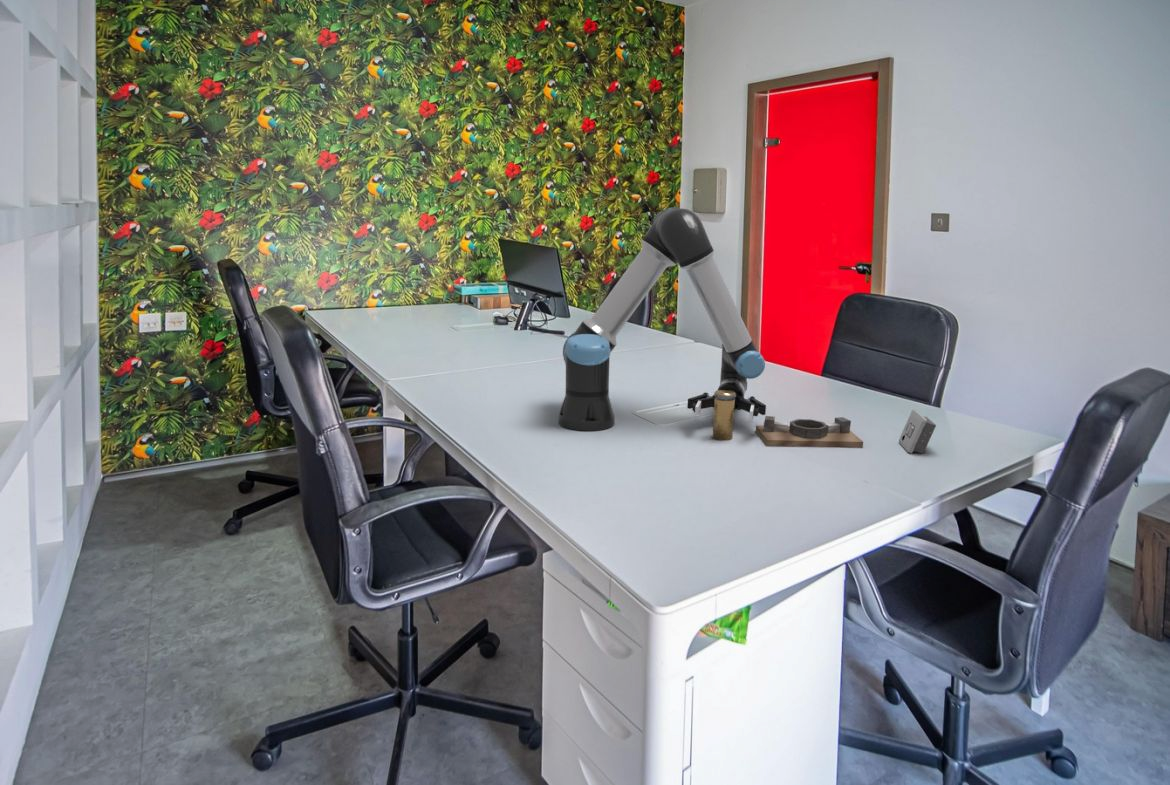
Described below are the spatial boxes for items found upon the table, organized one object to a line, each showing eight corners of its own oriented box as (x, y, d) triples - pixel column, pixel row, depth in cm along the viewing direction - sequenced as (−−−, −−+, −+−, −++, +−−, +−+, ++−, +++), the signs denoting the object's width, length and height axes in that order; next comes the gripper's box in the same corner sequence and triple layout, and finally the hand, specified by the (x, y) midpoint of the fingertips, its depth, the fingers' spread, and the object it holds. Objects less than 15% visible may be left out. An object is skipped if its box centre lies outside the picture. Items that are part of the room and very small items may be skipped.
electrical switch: (897, 442, 198) (905, 408, 196) (918, 445, 198) (926, 410, 195) (908, 454, 189) (916, 418, 187) (929, 457, 188) (938, 421, 186)
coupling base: (766, 445, 193) (768, 427, 192) (755, 430, 206) (756, 413, 205) (862, 447, 193) (864, 429, 192) (845, 432, 206) (847, 415, 205)
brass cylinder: (708, 438, 199) (710, 392, 196) (717, 433, 203) (720, 388, 200) (727, 442, 196) (730, 396, 193) (736, 437, 200) (739, 392, 197)
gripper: (775, 411, 213) (773, 433, 193) (684, 404, 219) (673, 424, 199) (777, 385, 211) (775, 403, 191) (686, 378, 217) (675, 395, 197)
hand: (723, 414), depth 195 cm, fingers open, 13 cm apart
